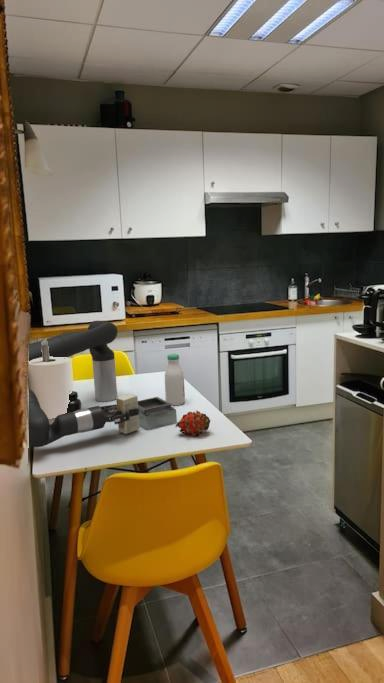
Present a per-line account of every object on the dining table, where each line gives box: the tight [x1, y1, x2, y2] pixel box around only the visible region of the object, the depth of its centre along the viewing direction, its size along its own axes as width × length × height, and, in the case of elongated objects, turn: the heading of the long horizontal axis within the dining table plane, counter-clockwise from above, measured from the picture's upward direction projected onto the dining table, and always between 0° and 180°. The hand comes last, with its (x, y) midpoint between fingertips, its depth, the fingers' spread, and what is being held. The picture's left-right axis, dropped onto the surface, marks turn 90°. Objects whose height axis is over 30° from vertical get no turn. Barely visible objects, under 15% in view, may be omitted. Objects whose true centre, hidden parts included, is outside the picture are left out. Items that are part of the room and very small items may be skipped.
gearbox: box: [138, 396, 178, 431], centre depth 183 cm, size 16×12×6 cm
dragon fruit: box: [175, 410, 211, 437], centre depth 168 cm, size 8×8×12 cm
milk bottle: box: [164, 353, 186, 407], centre depth 200 cm, size 8×8×20 cm
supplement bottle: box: [67, 390, 82, 413], centre depth 181 cm, size 7×7×12 cm
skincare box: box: [115, 393, 141, 435], centre depth 171 cm, size 6×4×12 cm
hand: (134, 409), depth 172 cm, fingers closed on skincare box, 5 cm apart
